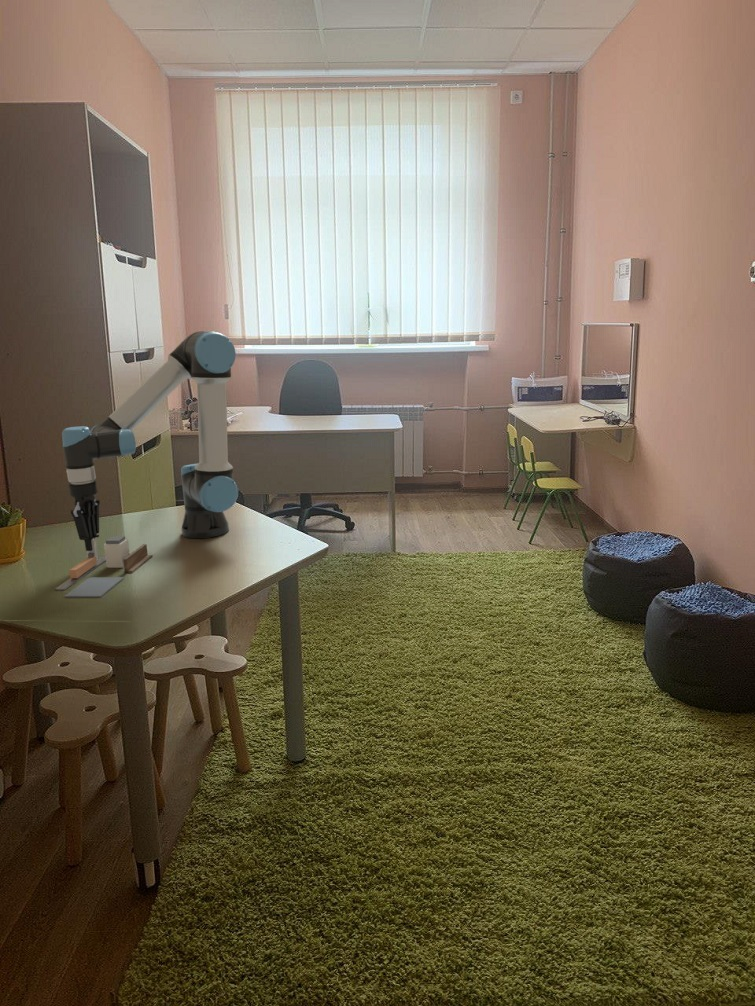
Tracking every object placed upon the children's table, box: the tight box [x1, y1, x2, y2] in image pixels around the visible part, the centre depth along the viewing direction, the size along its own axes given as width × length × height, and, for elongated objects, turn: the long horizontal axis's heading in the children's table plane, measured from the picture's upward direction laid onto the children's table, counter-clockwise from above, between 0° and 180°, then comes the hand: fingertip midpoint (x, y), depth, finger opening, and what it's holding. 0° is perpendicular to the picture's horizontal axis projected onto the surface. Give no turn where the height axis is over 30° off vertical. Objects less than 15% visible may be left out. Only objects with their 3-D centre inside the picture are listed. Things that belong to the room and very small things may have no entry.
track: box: [54, 555, 106, 591], centre depth 227 cm, size 3×28×1 cm, turn 173°
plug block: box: [103, 536, 131, 569], centre depth 232 cm, size 5×5×8 cm
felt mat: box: [64, 576, 125, 598], centre depth 214 cm, size 10×14×1 cm
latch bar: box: [69, 553, 97, 579], centre depth 226 cm, size 2×12×4 cm, turn 173°
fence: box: [123, 543, 153, 574], centre depth 231 cm, size 2×14×4 cm, turn 173°
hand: (92, 560), depth 233 cm, fingers closed
